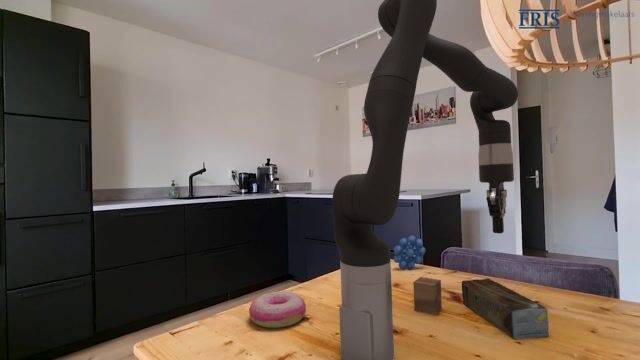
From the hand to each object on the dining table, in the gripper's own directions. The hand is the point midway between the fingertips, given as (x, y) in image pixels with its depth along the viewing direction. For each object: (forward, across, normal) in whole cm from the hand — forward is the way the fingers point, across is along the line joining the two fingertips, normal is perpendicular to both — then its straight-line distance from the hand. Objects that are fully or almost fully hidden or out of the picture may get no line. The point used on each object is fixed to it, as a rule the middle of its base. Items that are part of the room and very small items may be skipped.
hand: (498, 232), depth 78 cm
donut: (+18, -36, +41) cm, 58 cm away
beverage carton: (+18, -8, -1) cm, 20 cm away
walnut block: (+18, -12, +14) cm, 26 cm away
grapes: (+18, +20, +32) cm, 42 cm away
